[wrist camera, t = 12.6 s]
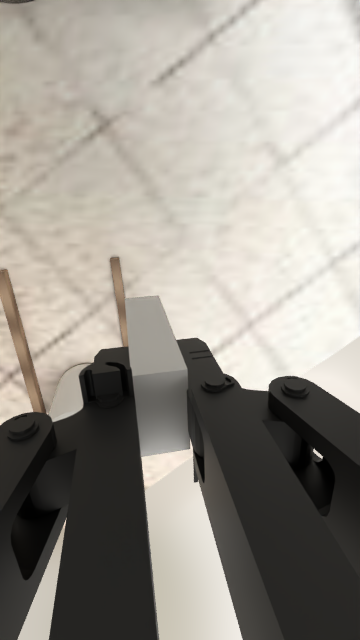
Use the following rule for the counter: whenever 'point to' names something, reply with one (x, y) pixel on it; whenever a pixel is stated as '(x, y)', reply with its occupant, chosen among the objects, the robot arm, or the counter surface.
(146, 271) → the counter surface
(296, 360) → the counter surface
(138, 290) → the counter surface
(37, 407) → the guide channel
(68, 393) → the pill bottle
